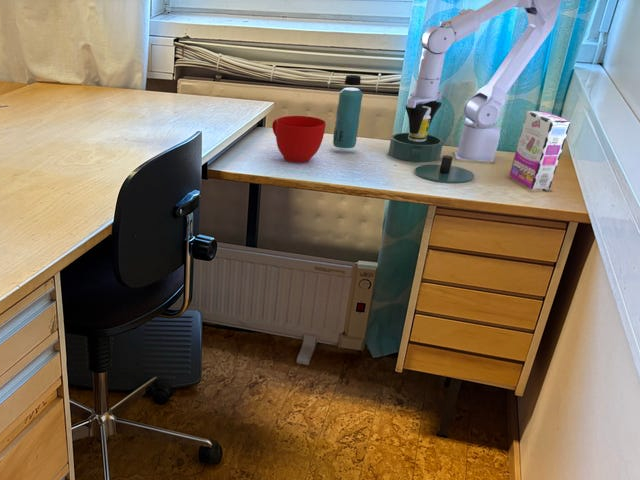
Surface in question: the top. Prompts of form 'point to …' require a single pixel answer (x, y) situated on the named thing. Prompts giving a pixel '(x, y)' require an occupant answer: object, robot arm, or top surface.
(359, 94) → the beverage bottle
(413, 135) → the supplement bottle
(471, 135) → the robot arm
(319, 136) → the ceramic cup
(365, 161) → the top surface
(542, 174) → the candy bar box
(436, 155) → the pot
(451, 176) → the lid
